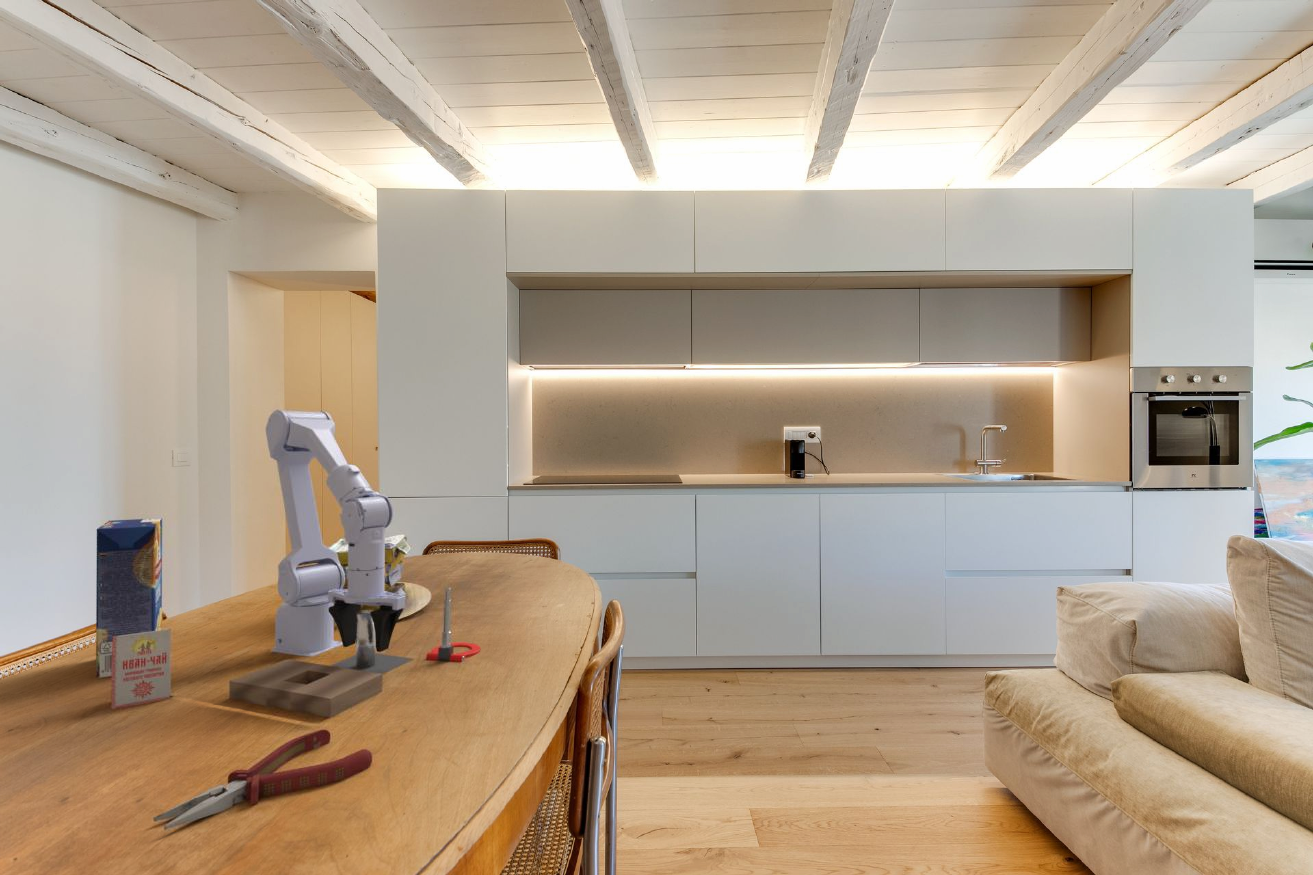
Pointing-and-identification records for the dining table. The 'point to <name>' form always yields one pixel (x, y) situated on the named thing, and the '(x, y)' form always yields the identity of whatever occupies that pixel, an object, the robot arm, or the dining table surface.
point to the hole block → (306, 687)
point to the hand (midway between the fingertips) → (365, 647)
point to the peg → (365, 640)
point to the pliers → (270, 779)
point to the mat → (381, 663)
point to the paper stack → (390, 574)
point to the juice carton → (127, 583)
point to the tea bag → (140, 668)
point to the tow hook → (446, 649)
